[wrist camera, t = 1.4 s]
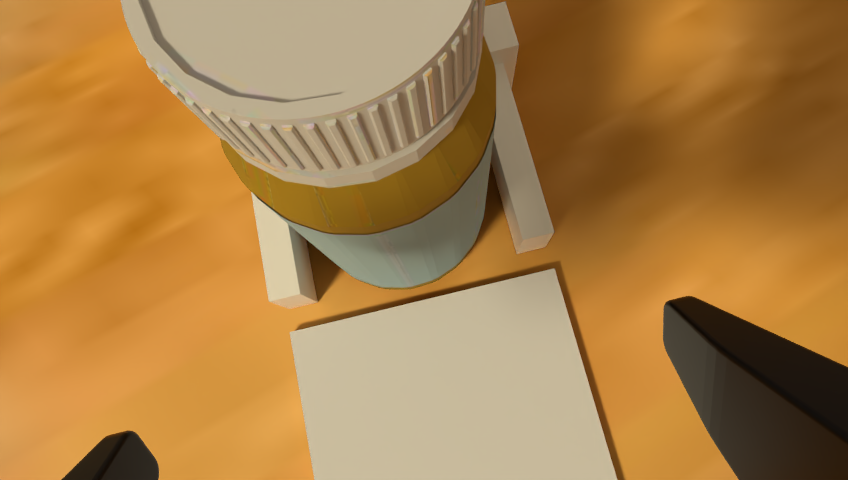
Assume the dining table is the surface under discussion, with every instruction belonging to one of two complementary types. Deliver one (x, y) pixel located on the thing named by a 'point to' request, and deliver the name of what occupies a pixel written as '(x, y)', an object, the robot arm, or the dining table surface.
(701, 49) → the dining table surface
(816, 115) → the dining table surface
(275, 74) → the bottle
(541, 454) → the mat
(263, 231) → the dock
